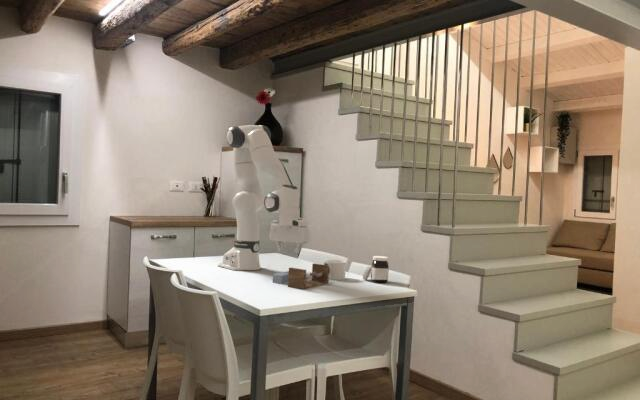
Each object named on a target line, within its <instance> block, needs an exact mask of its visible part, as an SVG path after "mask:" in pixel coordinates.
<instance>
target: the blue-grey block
mask: <svg viewBox="0 0 640 400" xmlns="http://www.w3.org/2000/svg"><path fill="white" fill-rule="evenodd" d="M288 276H289V270H287V271H282V272H277V273H273V274H272V283H274V284H279V285H280V284H281V285H284V284H288Z"/></svg>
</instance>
